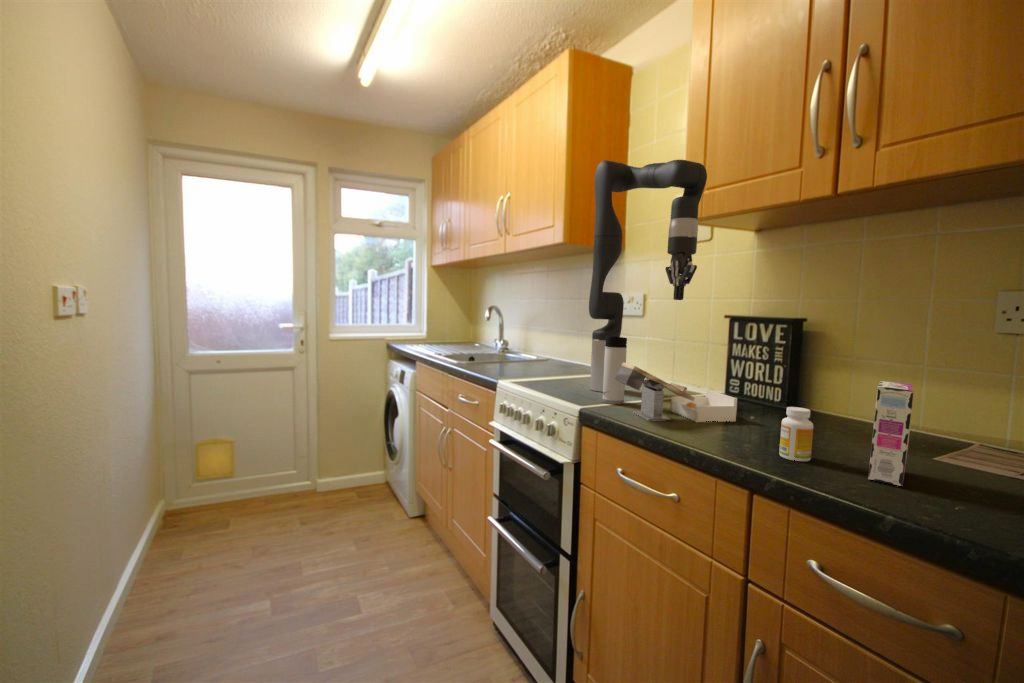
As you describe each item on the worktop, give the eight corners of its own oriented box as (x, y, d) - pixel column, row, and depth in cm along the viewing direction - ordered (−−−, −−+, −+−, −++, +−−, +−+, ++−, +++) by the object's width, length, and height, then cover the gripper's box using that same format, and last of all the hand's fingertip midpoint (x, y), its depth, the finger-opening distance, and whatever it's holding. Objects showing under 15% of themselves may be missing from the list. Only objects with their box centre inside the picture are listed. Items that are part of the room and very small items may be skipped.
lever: (625, 383, 118) (636, 361, 118) (614, 379, 125) (625, 358, 125) (686, 415, 122) (697, 393, 122) (672, 408, 129) (682, 388, 129)
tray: (670, 411, 131) (671, 389, 131) (707, 410, 134) (709, 389, 133) (695, 422, 120) (697, 398, 119) (735, 421, 122) (737, 398, 121)
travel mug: (601, 403, 139) (604, 335, 137) (603, 399, 145) (606, 334, 143) (622, 405, 137) (626, 336, 135) (624, 401, 143) (627, 335, 141)
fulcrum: (632, 413, 128) (634, 378, 127) (653, 412, 129) (655, 378, 128) (648, 421, 119) (650, 384, 118) (670, 420, 120) (672, 384, 119)
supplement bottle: (813, 458, 93) (817, 409, 92) (807, 464, 89) (811, 413, 88) (783, 451, 97) (786, 404, 96) (775, 457, 93) (779, 408, 92)
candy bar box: (905, 488, 78) (914, 390, 77) (867, 481, 81) (876, 386, 80) (904, 471, 87) (913, 383, 85) (870, 465, 90) (878, 379, 89)
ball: (689, 398, 127) (695, 407, 128) (680, 406, 127) (686, 415, 127) (696, 401, 124) (702, 410, 125) (687, 409, 124) (693, 418, 124)
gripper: (658, 238, 136) (654, 299, 137) (682, 232, 123) (678, 300, 124) (682, 239, 137) (678, 300, 139) (709, 234, 124) (704, 300, 126)
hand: (678, 299), depth 131 cm, fingers closed
